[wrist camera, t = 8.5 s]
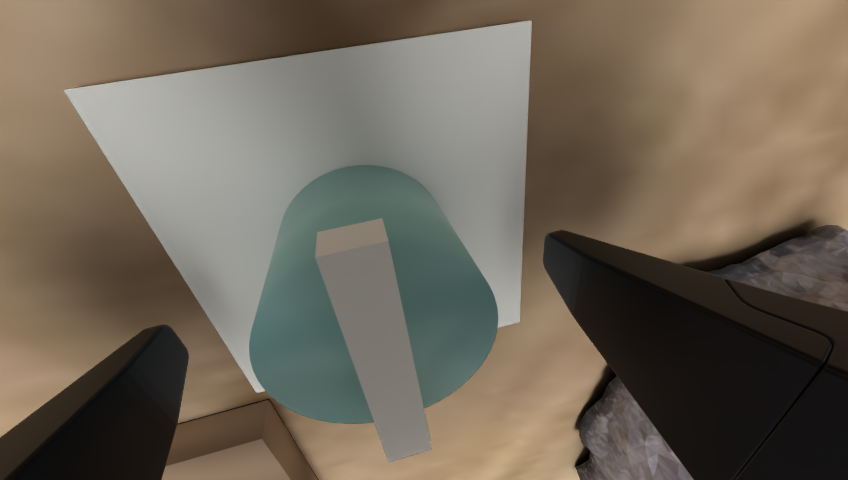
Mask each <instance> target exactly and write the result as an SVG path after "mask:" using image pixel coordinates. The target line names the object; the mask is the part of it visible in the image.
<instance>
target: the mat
mask: <svg viewBox="0 0 848 480" xmlns="http://www.w3.org/2000/svg"><path fill="white" fill-rule="evenodd" d="M531 28H532V21H521V22H515V23H508V24H501V25H495V26H488V27H481V28H474V29H468V30H461V31H454V32H447V33H441V34H434V35H427V36H421V37H414V38H407V39H400V40H394V41H387V42H380V43H373V44H367V45H360V46H353V47H347V48H340V49H333V50H326V51H320V52H313V53H306V54H299V55H293V56H286V57H279V58H272V59H266V60H259V61H252V62H246V63H239V64H232V65H225V66H219V67H212V68H205V69H198V70H192V71H185V72H178V73H172V74H165V75H158V76H151V77H145V78H138V79H131V80H124V81H118V82H111V83H104V84H98V85H91V86H84V87H77V88H72V89H67V90H64V92H65V93H66V95H67V96H68V98H69V100H70V101H71V103H72V104H73V106H74V107H75V109H76V111H77V112H78V114H79V115H80V117H81V118H82V120H83V122H84V123H85V125H86V126H87V128H88V129H89V131H90V132H91V134H92V136H93V137H94V139H95V140H96V142H97V143H98V145H99V147H100V148H101V150H102V151H103V153H104V154H105V156H106V158H107V159H108V161H109V162H110V164H111V165H112V167H113V169H114V170H115V172H116V173H117V175H118V176H119V178H120V180H121V181H122V183H123V184H124V186H125V187H126V189H127V191H128V192H129V194H130V195H131V197H132V198H133V200H134V202H135V203H136V205H137V206H138V208H139V209H140V211H141V213H142V214H143V216H144V217H145V219H146V220H147V222H148V224H149V225H150V227H151V228H152V230H153V231H154V233H155V235H156V236H157V238H158V239H159V241H160V242H161V244H162V246H163V247H164V249H165V250H166V252H167V253H168V255H169V256H170V258H171V260H172V261H173V263H174V264H175V266H176V267H177V269H178V271H179V272H180V274H181V275H182V277H183V278H184V280H185V282H186V283H187V285H188V286H189V288H190V289H191V291H192V293H193V294H194V296H195V297H196V299H197V300H198V302H199V304H200V305H201V307H202V308H203V310H204V311H205V313H206V315H207V316H208V318H209V319H210V321H211V322H212V324H213V326H214V327H215V329H216V330H217V332H218V333H219V335H220V337H221V338H222V340H223V341H224V343H225V344H226V346H227V348H228V349H229V351H230V352H231V354H232V355H233V357H234V359H235V360H236V362H237V363H238V365H239V366H240V368H241V369H242V371H243V373H244V374H245V376H246V377H247V379H248V380H249V382H250V384H251V385H252V387H253V388H254V390H255V391H256V393H259V392H263V391H265V390H264V388H263V387H262V386H261V384H260V383H259V382H258V380H257V378H256V376H255V374H254V372H253V369H252V366H251V362H250V357H249V341H250V334H251V330H252V326H253V322H254V319H255V315H256V312H257V308H258V304H259V301H260V297H261V294H262V290H263V286H264V283H265V279H266V276H267V272H268V268H269V265H270V261H271V258H272V254H273V250H274V247H275V243H276V240H277V236H278V232H279V229H280V225H281V222H282V219H283V216H284V214H285V212H286V210H287V208H288V206H289V204H290V203H291V202H292V200H293V199H294V197H295V196H296V195H297V194H298V193H299V192H300V191H301V190H302V189H303V188H304V187H305V186H307V185H308V184H309V183H311V182H312V181H313V180H315V179H317V178H318V177H320V176H322V175H324V174H326V173H329V172H331V171H334V170H337V169H340V168H344V167H349V166H357V165H374V166H383V167H387V168H391V169H395V170H397V171H400V172H402V173H405V174H407V175H408V176H410V177H412V178H414V179H415V180H417V181H418V182H419V183H420V184H422V185H423V186H424V187H425V188H426V189H427V190H428V191H429V192H430V193H431V195H432V196H433V197H434V199H435V200H436V202H437V203H438V205H439V206H440V208H441V210H442V211H443V213H444V214H445V216H446V218H447V219H448V221H449V222H450V224H451V225H452V227H453V229H454V230H455V232H456V233H457V235H458V237H459V238H460V240H461V241H462V243H463V244H464V246H465V248H466V249H467V251H468V252H469V254H470V256H471V257H472V259H473V260H474V262H475V263H476V265H477V267H478V268H479V270H480V271H481V273H482V275H483V276H484V278H485V279H486V281H487V282H488V284H489V286H490V288H491V290H492V292H493V294H494V296H495V300H496V303H497V308H498V328H500V327H503V326H507V325H511V324H515V323H518V322H520V301H521V277H522V252H523V227H524V202H525V177H526V152H527V127H528V103H529V78H530V53H531Z"/></svg>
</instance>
